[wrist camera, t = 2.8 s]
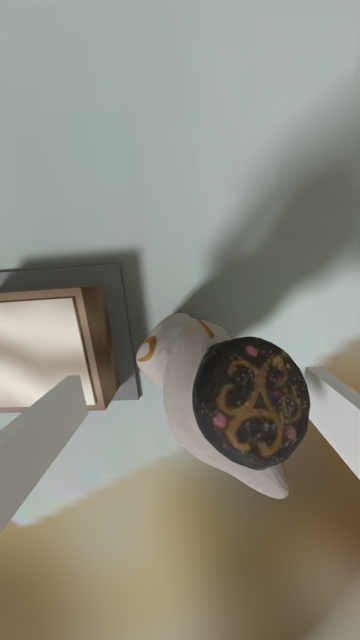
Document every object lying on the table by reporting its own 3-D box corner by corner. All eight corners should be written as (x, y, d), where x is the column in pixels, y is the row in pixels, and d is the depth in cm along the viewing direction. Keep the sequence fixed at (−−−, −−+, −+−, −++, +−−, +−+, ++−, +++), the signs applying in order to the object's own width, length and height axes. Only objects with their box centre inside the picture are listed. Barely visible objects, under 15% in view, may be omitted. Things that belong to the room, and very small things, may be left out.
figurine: (241, 356, 21) (366, 556, 6) (158, 377, 22) (96, 586, 7) (222, 282, 19) (339, 312, 4) (132, 309, 20) (-23, 408, 5)
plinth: (-5, 292, 20) (-56, 297, 16) (102, 284, 19) (79, 287, 15) (26, 389, 23) (-10, 414, 19) (120, 385, 22) (104, 411, 18)
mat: (-24, 274, 20) (-29, 274, 19) (119, 263, 19) (118, 263, 18) (18, 401, 24) (15, 403, 23) (139, 397, 23) (138, 399, 22)
